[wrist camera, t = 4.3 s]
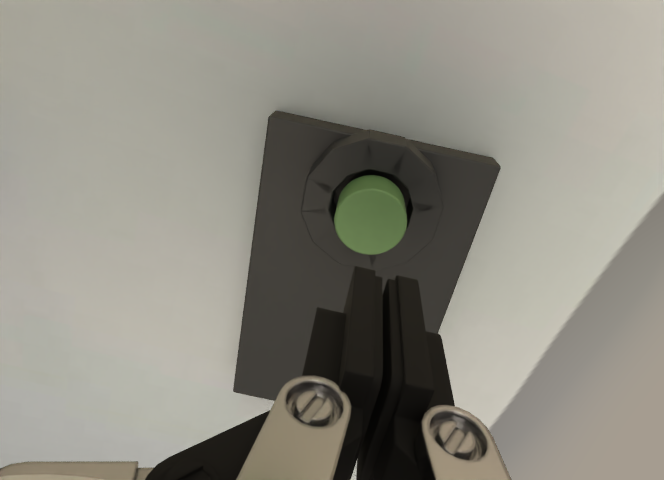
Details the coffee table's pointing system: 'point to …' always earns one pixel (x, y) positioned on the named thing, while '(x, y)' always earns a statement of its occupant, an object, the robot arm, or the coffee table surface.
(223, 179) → the coffee table surface
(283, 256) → the dark grey flat block
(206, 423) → the coffee table surface
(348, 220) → the button
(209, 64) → the coffee table surface
